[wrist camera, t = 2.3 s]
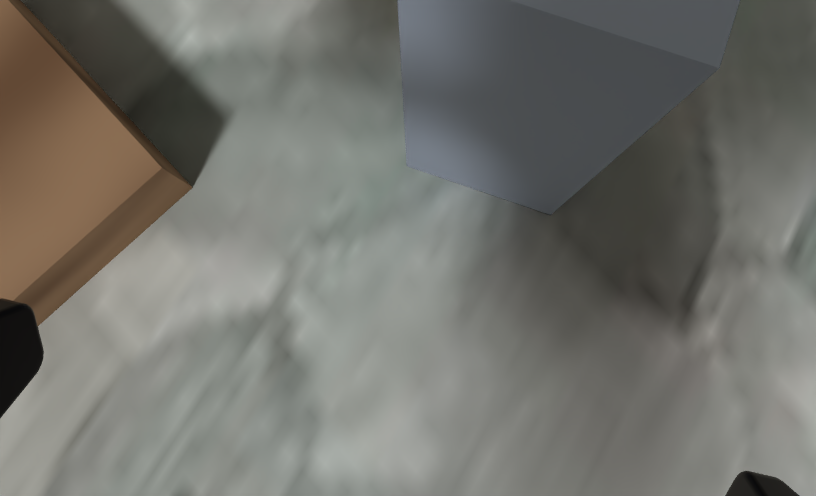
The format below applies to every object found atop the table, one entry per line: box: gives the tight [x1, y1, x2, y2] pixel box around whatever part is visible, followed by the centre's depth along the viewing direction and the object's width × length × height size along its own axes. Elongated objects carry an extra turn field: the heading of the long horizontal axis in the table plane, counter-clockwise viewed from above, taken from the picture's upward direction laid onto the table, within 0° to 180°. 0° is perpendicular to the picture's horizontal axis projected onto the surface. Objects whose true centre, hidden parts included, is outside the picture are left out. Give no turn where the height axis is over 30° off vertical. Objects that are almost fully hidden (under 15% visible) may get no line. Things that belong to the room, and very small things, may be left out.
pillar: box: [398, 0, 740, 215], centre depth 16 cm, size 5×5×12 cm
